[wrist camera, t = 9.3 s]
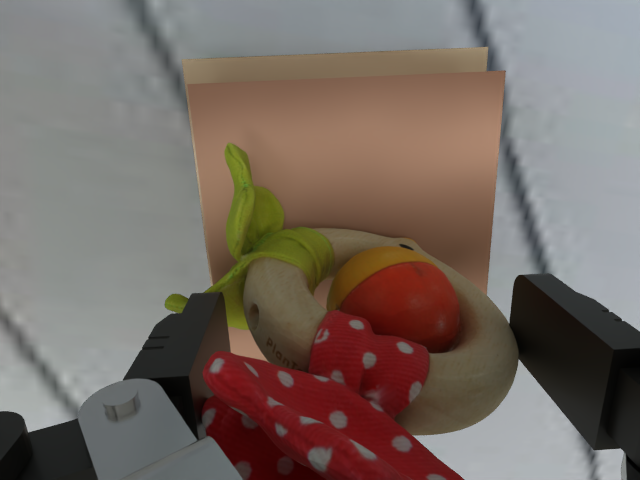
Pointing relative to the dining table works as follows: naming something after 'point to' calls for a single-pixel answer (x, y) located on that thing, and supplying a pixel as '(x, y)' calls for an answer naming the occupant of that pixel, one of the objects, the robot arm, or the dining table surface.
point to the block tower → (354, 149)
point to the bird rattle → (345, 350)
